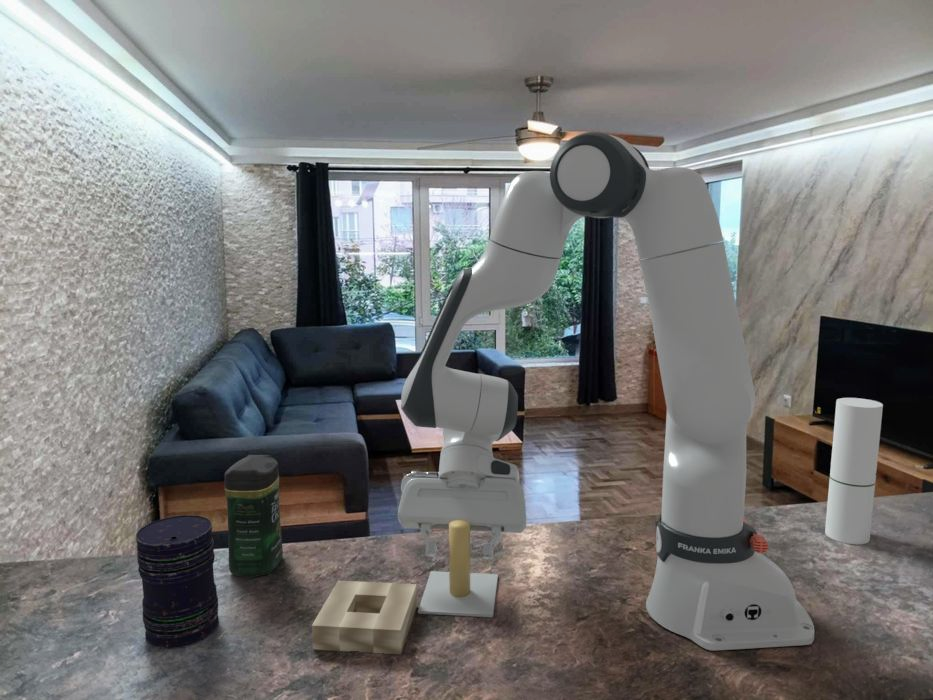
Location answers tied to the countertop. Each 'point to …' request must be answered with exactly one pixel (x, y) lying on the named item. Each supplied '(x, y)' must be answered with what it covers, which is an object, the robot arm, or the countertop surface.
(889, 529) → the countertop surface
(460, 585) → the peg
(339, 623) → the hole block
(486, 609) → the mat
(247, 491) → the coffee jar
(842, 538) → the cylindrical container
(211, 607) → the dark blue cylinder
